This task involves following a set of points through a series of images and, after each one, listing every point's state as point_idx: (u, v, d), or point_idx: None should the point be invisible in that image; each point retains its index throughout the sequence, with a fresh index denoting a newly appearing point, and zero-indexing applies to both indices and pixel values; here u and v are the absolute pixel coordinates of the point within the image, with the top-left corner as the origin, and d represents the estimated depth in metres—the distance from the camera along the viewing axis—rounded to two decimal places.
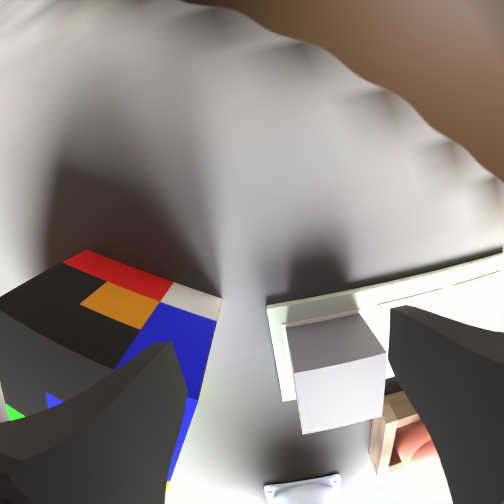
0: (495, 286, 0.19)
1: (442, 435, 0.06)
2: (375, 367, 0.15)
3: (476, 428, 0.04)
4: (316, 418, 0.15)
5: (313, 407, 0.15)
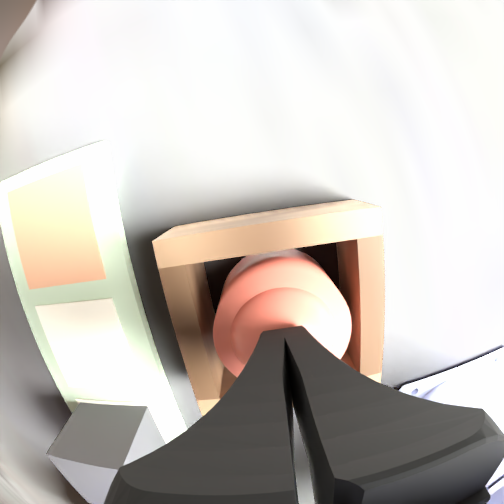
0: (22, 195, 0.12)
1: (311, 472, 0.06)
2: (62, 464, 0.11)
3: (316, 481, 0.04)
4: None
5: None
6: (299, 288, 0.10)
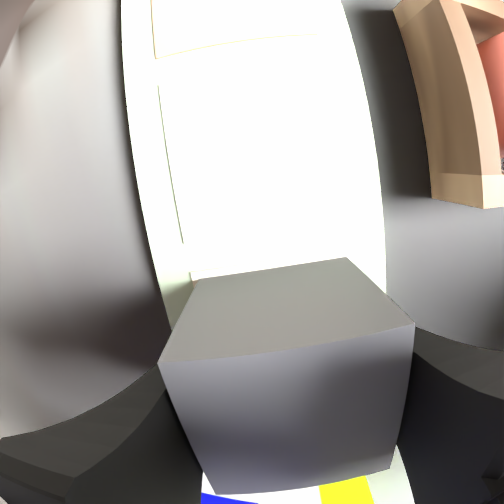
0: None
1: (408, 448, 0.06)
2: (205, 386, 0.06)
3: (437, 446, 0.04)
4: (348, 464, 0.06)
5: (311, 473, 0.06)
6: None
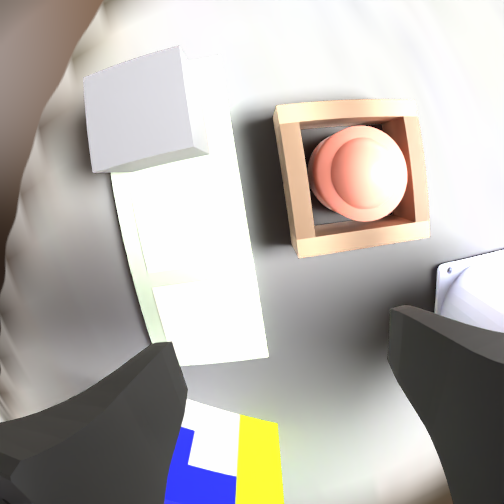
0: None
1: (442, 435, 0.06)
2: (97, 83, 0.11)
3: (476, 428, 0.04)
4: (162, 133, 0.12)
5: (141, 141, 0.12)
6: (373, 139, 0.14)
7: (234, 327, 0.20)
